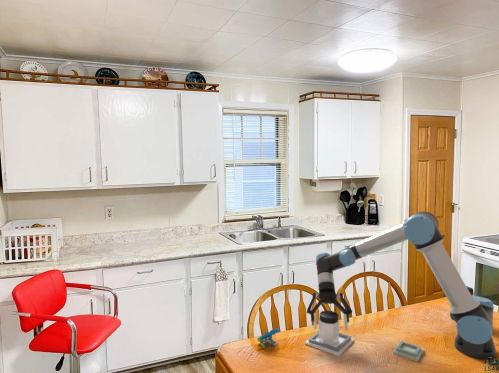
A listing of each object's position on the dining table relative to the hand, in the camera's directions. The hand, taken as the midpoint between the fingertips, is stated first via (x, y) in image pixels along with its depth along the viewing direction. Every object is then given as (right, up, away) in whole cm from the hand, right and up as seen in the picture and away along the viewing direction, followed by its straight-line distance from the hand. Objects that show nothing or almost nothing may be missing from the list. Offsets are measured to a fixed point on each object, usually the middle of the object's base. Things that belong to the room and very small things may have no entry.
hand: (331, 329), depth 159 cm
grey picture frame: (0, -7, +3) cm, 8 cm away
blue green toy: (-28, -7, +2) cm, 29 cm away
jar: (-1, -6, +3) cm, 7 cm away
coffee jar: (+72, -6, +26) cm, 77 cm away
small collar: (+32, -8, -5) cm, 33 cm away
